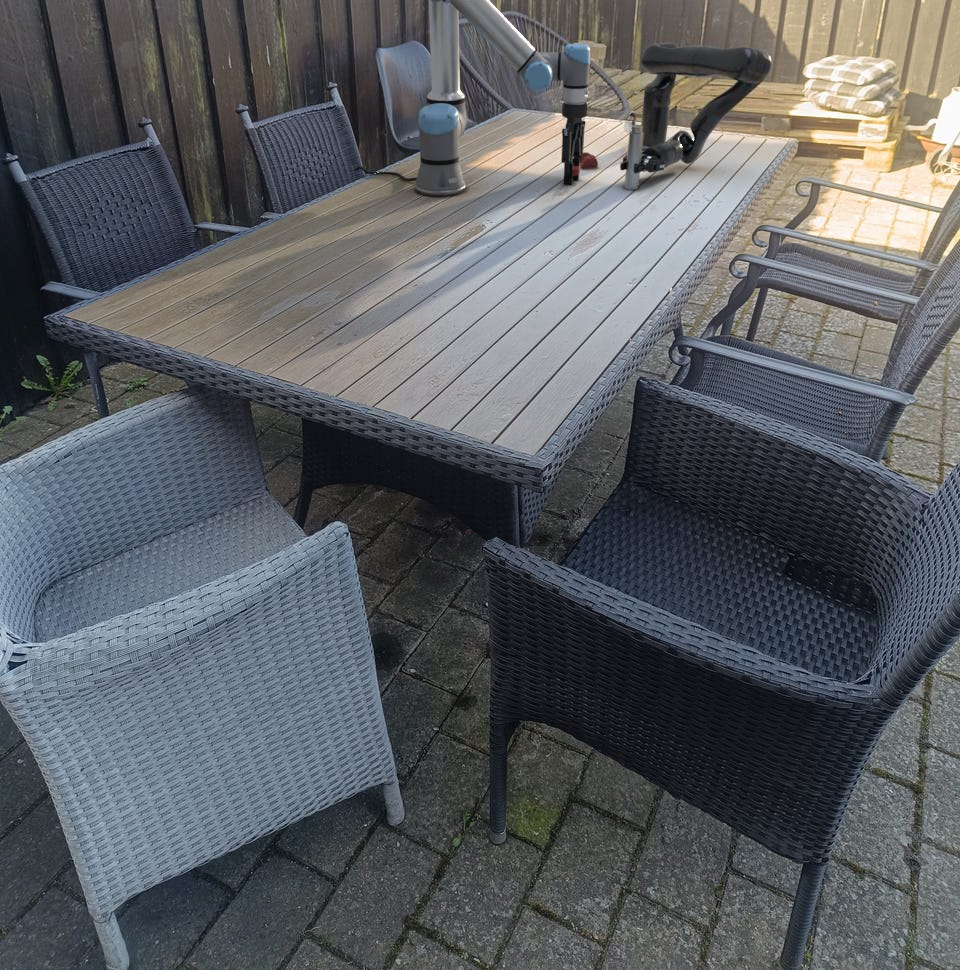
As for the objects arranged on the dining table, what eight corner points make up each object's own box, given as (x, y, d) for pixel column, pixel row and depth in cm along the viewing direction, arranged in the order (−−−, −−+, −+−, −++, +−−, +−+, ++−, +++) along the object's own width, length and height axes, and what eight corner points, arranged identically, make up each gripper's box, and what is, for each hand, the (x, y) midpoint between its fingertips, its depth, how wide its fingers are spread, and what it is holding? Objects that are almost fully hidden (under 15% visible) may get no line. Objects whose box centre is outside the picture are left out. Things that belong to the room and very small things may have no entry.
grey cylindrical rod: (624, 189, 258) (631, 127, 248) (623, 185, 262) (629, 124, 251) (638, 189, 258) (645, 127, 248) (637, 185, 262) (643, 124, 251)
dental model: (591, 148, 281) (599, 155, 275) (590, 161, 283) (599, 168, 277) (575, 150, 280) (583, 157, 274) (574, 163, 282) (582, 170, 276)
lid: (576, 171, 266) (577, 164, 265) (581, 175, 262) (581, 168, 261) (562, 172, 265) (562, 165, 264) (566, 176, 261) (567, 169, 260)
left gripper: (575, 109, 244) (571, 191, 257) (597, 97, 257) (592, 176, 270) (551, 107, 247) (549, 188, 260) (574, 95, 260) (570, 173, 273)
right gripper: (640, 140, 267) (609, 151, 256) (679, 148, 259) (649, 159, 249) (637, 165, 271) (607, 176, 261) (676, 173, 263) (646, 185, 253)
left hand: (571, 181), depth 265 cm, fingers closed on lid, 5 cm apart
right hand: (628, 168), depth 255 cm, fingers closed on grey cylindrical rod, 4 cm apart
